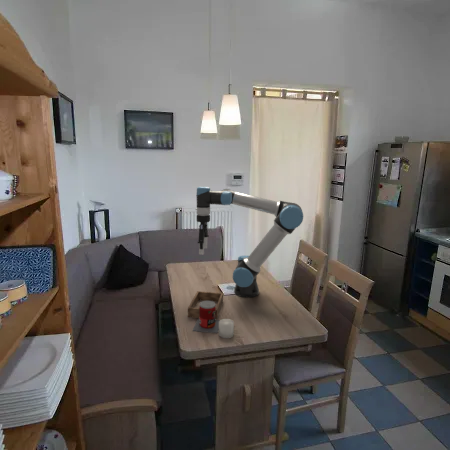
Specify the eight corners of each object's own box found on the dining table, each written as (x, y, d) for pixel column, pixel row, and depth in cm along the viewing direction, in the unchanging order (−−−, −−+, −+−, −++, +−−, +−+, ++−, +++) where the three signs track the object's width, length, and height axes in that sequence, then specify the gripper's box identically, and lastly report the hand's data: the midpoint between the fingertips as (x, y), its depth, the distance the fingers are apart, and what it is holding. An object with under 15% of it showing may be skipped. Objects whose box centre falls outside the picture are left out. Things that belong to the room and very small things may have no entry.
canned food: (209, 330, 149) (210, 308, 147) (196, 325, 153) (196, 304, 151) (218, 323, 156) (218, 302, 154) (205, 319, 160) (205, 299, 158)
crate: (222, 301, 182) (223, 293, 181) (216, 319, 161) (216, 310, 160) (197, 299, 184) (197, 291, 183) (187, 317, 163) (187, 308, 162)
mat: (221, 320, 160) (221, 320, 160) (217, 333, 148) (217, 332, 148) (198, 318, 161) (198, 318, 161) (192, 331, 149) (192, 330, 149)
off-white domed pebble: (234, 331, 150) (234, 319, 149) (232, 338, 144) (233, 326, 142) (219, 329, 151) (220, 318, 150) (217, 337, 144) (217, 325, 143)
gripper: (200, 211, 190) (200, 245, 194) (192, 218, 166) (193, 257, 170) (212, 211, 190) (212, 245, 194) (207, 218, 165) (206, 257, 169)
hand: (203, 251), depth 182 cm, fingers open, 13 cm apart
